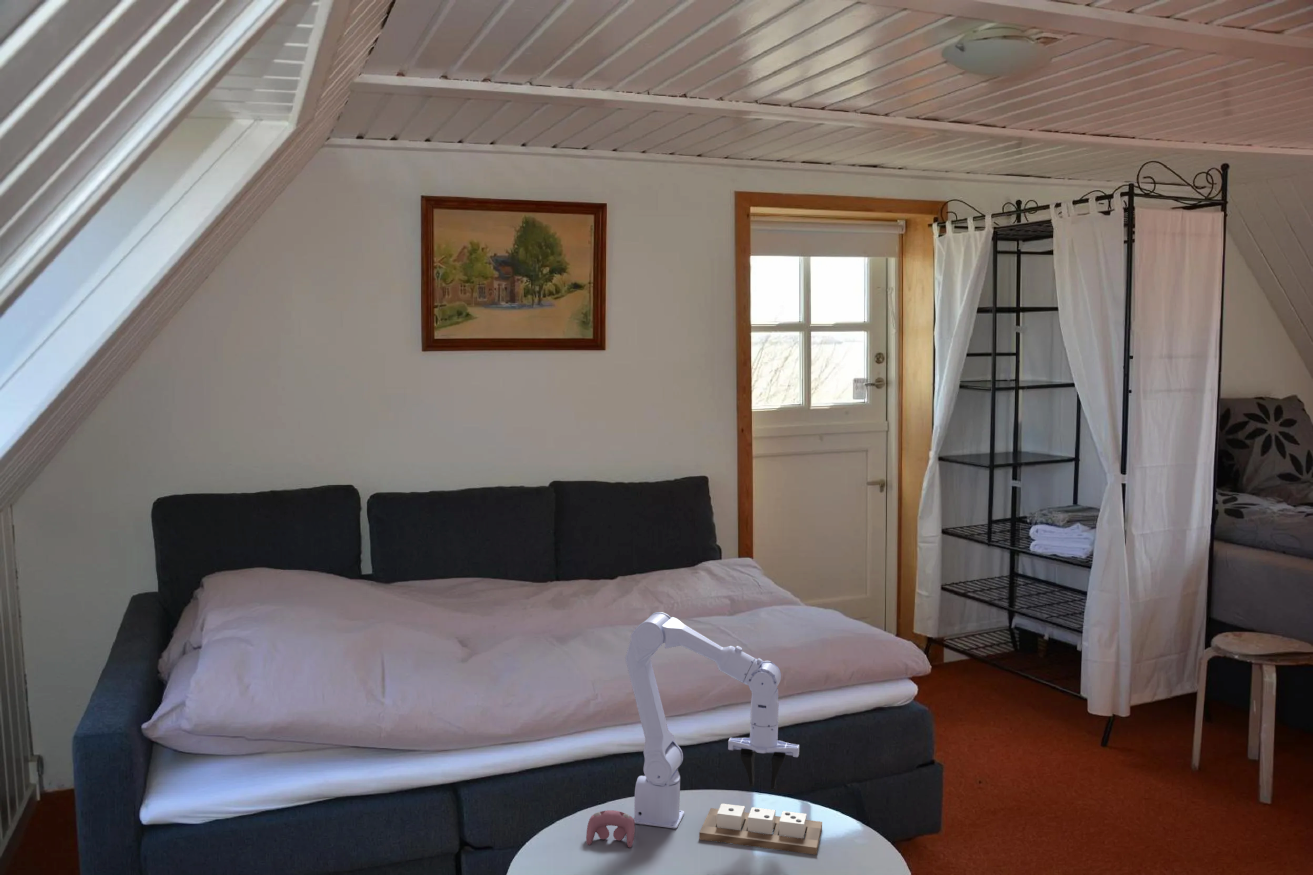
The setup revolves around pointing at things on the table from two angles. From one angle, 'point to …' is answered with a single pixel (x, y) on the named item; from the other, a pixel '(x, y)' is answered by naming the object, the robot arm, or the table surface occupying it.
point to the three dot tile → (792, 824)
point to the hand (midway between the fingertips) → (762, 785)
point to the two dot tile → (761, 820)
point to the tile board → (762, 835)
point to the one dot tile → (730, 816)
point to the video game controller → (611, 819)
